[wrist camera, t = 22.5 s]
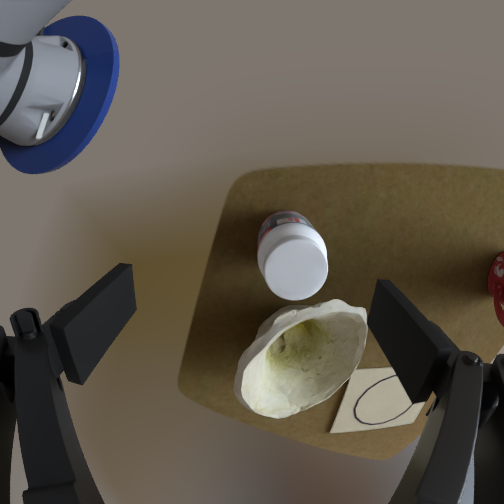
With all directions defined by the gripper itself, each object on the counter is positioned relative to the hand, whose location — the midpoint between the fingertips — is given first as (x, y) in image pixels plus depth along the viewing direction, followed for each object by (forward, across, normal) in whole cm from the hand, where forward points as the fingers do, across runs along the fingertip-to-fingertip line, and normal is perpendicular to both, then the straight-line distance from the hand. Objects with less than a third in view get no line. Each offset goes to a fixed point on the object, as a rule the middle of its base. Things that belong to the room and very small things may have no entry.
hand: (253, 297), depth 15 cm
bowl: (+16, +6, -12) cm, 20 cm away
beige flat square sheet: (+15, +22, -25) cm, 36 cm away
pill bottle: (+16, +3, -1) cm, 16 cm away
